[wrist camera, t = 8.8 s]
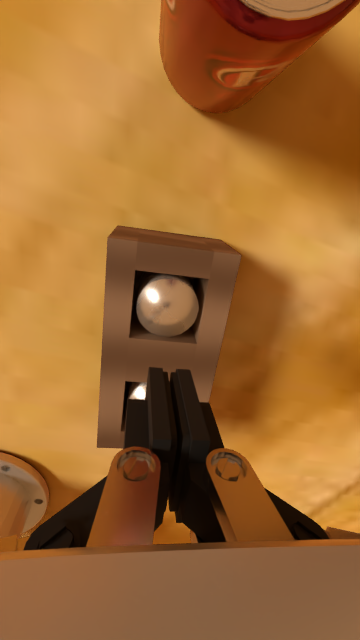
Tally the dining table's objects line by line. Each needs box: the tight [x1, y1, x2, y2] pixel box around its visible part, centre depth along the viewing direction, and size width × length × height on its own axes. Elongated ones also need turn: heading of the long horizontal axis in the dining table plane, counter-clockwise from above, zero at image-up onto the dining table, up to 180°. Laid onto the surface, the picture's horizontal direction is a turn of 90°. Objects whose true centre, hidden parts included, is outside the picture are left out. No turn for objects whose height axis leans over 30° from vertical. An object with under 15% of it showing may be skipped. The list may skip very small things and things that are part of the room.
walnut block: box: [97, 226, 241, 448], centre depth 24 cm, size 16×8×6 cm, turn 172°
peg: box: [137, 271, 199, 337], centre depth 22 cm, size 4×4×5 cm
